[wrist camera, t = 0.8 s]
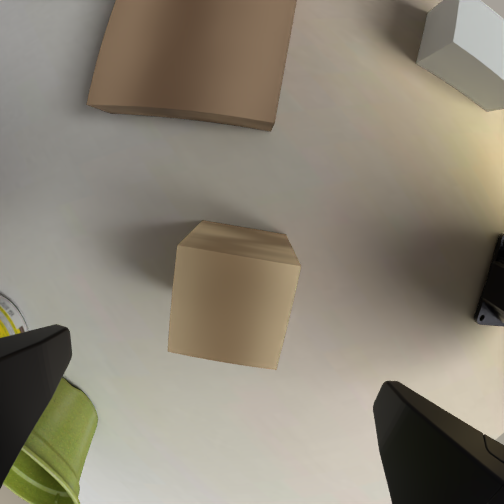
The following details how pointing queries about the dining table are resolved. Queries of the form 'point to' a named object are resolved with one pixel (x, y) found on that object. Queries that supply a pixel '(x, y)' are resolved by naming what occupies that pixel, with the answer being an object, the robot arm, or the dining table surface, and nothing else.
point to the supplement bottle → (10, 319)
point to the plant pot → (55, 450)
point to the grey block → (466, 50)
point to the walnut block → (194, 60)
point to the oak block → (232, 294)
